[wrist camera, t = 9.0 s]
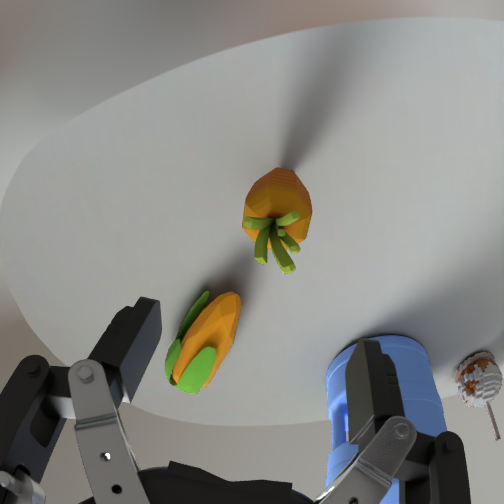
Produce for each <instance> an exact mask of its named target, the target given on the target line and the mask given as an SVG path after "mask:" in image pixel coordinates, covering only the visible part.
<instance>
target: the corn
mask: <svg viewBox="0 0 504 504" xmlns="http://www.w3.org/2000/svg"><path fill="white" fill-rule="evenodd" d="M208 297H209V291H205V292H204V293H203V295H202V296H201V297H200V298H199V299H198V300H197V302H196V303H195V304H194V306H193V307H192V308H191V309H190V311H189V312H188V314H187V316H186V318H185V320H184V322H183V324H182V325H181V327H180V329H179V332H178V335H177V337H176V340H175V341H174V342H173V344H172V345H171V347H170V348H169V350H168V353H167V357H166V360H165V373H166V376H167V378H168V380H169V382H170V384H172V385H173V386H174V385H176V388H178V389H180V390H182V391H184V392H186V393H192V394H197V393H198V392H199V390H200V389H201V388H203V387H206V386H207V385H208V384H209V383H210V381H211V379H212V378H213V376H214V374H215V373H216V371H217V369H218V368H219V366H220V364H221V363H222V361H223V359H224V358H225V356H226V354H227V353H228V351H229V349H230V348H231V346H232V344H233V342H234V338H235V333H236V329H237V324H238V320H239V315H240V311H241V306H242V303H241V300H240V297H239V295H237V294H235V293H233V292H232V291H230V292H227V293H224V294H221V295H219V296H218V297H217V298H216V299H215V300H214V301H212V302H211V303H210V304H209V305H208V306H207V307H206V308H205V309H204V310H203V308H204V305H205V303H206V301H207V299H208ZM202 310H203V311H202ZM171 372H172V374H171Z"/></svg>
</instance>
